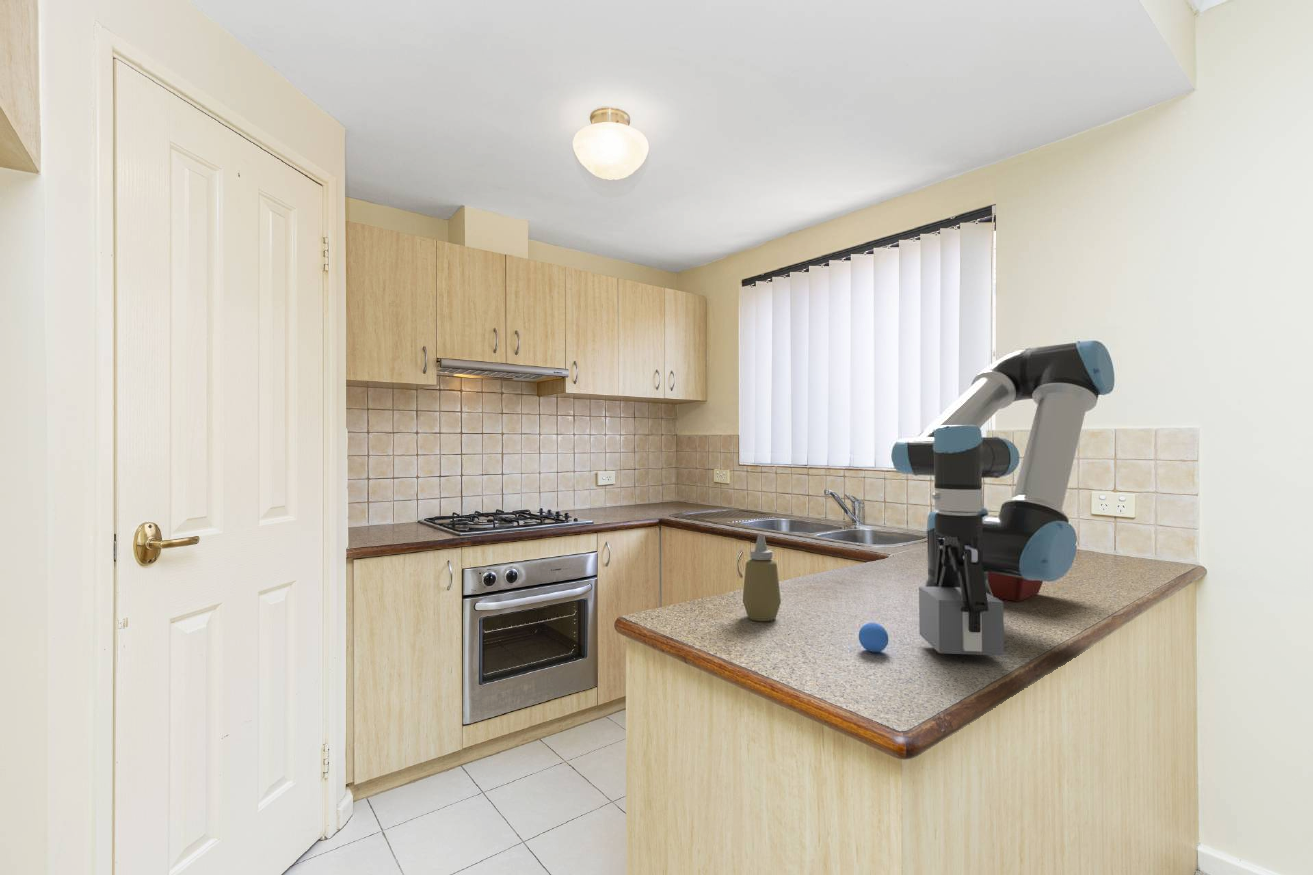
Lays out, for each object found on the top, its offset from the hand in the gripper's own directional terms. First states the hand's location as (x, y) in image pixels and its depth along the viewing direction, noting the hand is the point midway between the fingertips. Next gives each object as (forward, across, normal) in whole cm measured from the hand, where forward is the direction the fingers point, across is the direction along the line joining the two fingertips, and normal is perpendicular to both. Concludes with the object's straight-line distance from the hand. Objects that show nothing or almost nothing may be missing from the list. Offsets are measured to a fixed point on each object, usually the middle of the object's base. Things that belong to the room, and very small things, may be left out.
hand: (959, 639), depth 103 cm
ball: (0, 0, -14) cm, 15 cm away
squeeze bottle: (+3, -19, -33) cm, 38 cm away
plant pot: (+2, -47, +27) cm, 54 cm away
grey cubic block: (+1, 0, 0) cm, 1 cm away
